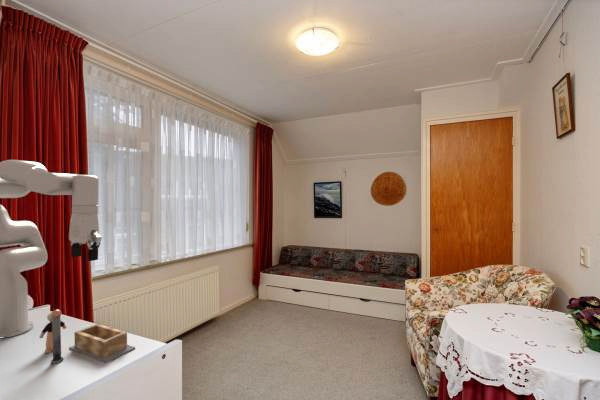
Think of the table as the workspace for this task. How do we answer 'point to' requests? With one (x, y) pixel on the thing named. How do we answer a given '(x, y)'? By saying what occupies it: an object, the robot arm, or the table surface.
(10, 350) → the table surface
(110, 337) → the open wooden frame
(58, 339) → the post stand
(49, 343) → the grandmother figurine
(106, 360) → the rubber mat
